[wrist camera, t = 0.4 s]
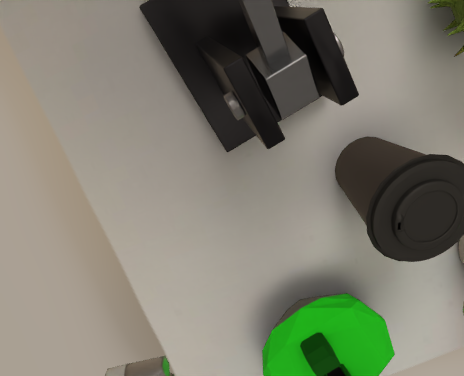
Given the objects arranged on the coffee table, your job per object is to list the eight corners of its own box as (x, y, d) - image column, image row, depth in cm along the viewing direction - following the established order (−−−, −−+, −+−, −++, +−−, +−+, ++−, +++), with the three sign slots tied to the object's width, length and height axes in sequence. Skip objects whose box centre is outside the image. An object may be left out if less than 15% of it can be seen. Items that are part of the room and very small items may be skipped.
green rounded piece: (383, 325, 46) (449, 416, 36) (287, 382, 46) (325, 487, 36) (335, 245, 41) (397, 325, 31) (229, 311, 41) (255, 409, 31)
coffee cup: (301, 163, 37) (351, 216, 28) (380, 100, 36) (459, 134, 27) (350, 225, 40) (409, 291, 31) (423, 169, 39) (506, 220, 30)
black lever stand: (139, 6, 30) (133, 10, 17) (252, -65, 29) (329, -113, 17) (224, 148, 35) (267, 230, 22) (322, 89, 35) (421, 139, 22)
